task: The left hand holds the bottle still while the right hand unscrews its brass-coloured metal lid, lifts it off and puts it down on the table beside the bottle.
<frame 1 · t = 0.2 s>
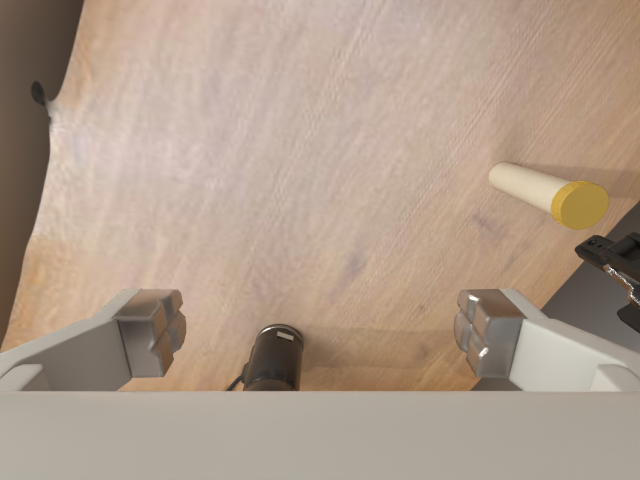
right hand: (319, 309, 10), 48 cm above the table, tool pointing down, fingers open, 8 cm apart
lid: (582, 206, 40), point 19 cm above the table, screwed on, not yet turned
bottle: (502, 175, 57), on the table
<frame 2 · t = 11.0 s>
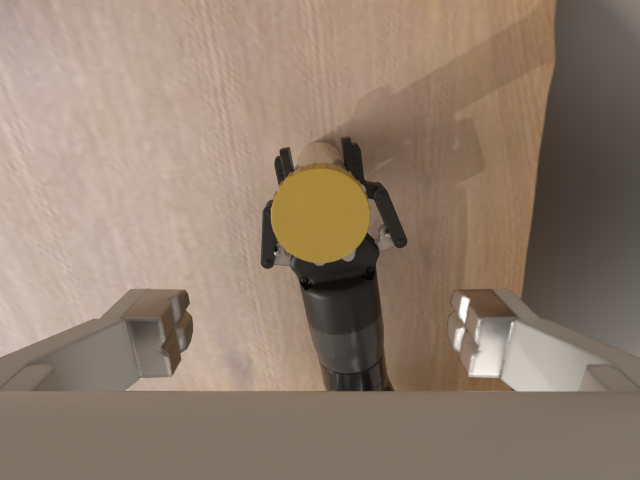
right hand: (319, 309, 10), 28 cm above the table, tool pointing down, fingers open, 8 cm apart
left hand: (314, 144, 29), fingers closed on bottle, 4 cm apart
lid: (320, 216, 19), point 19 cm above the table, screwed on, not yet turned
bottle: (320, 163, 36), on the table, touching left hand
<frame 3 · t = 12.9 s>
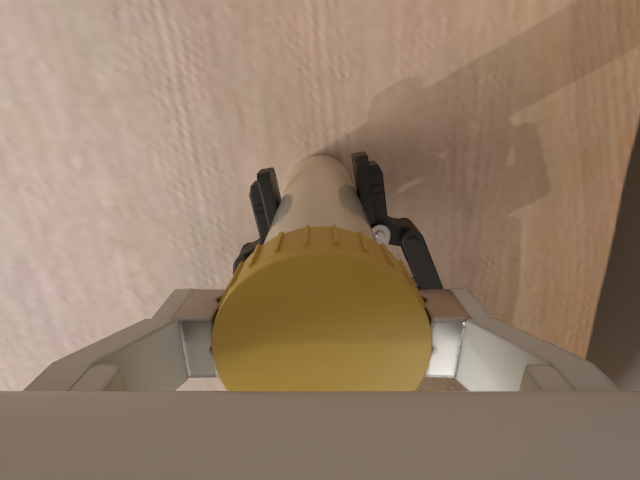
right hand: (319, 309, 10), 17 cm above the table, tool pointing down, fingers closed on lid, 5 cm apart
lid: (321, 344, 9), point 19 cm above the table, screwed on, not yet turned, touching right hand
bottle: (320, 185, 26), on the table, touching left hand
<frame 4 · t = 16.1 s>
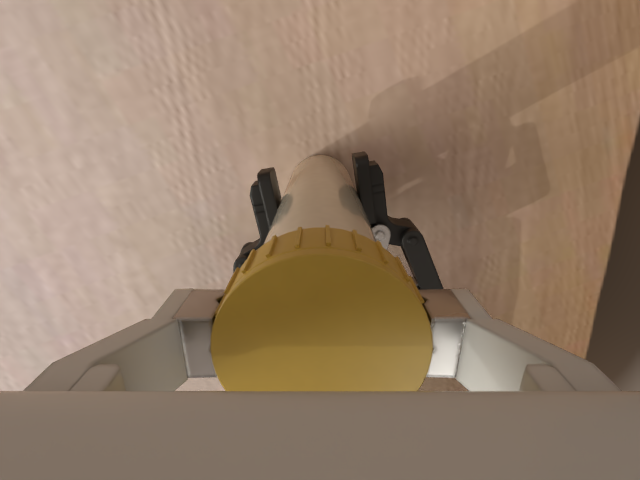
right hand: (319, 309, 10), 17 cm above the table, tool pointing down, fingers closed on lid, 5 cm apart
lid: (321, 346, 9), point 19 cm above the table, turned 79° so far, risen 0.1 cm, still on its thread, touching right hand
bottle: (320, 185, 26), on the table, touching left hand
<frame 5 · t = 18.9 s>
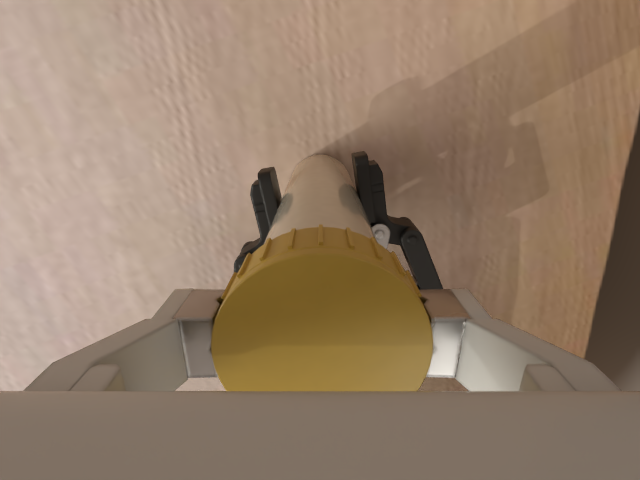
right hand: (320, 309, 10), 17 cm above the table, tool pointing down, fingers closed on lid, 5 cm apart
lid: (322, 345, 9), point 19 cm above the table, turned 158° so far, risen 0.2 cm, still on its thread, touching right hand
bottle: (320, 185, 26), on the table, touching left hand
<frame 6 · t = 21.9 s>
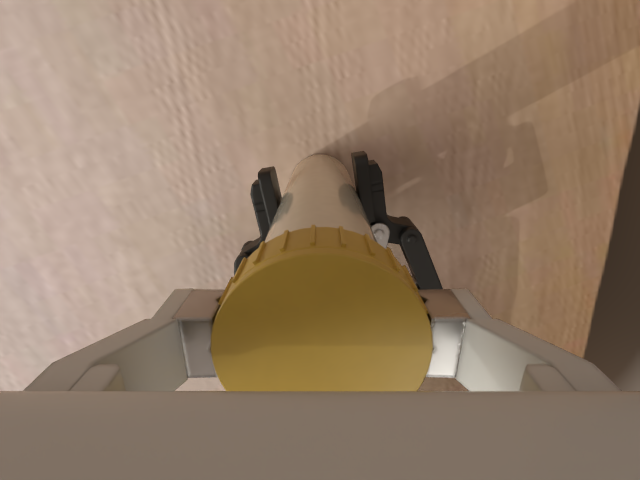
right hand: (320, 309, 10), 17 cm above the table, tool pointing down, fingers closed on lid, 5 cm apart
lid: (321, 345, 9), point 19 cm above the table, turned 237° so far, risen 0.3 cm, still on its thread, touching right hand
bottle: (320, 185, 26), on the table, touching left hand
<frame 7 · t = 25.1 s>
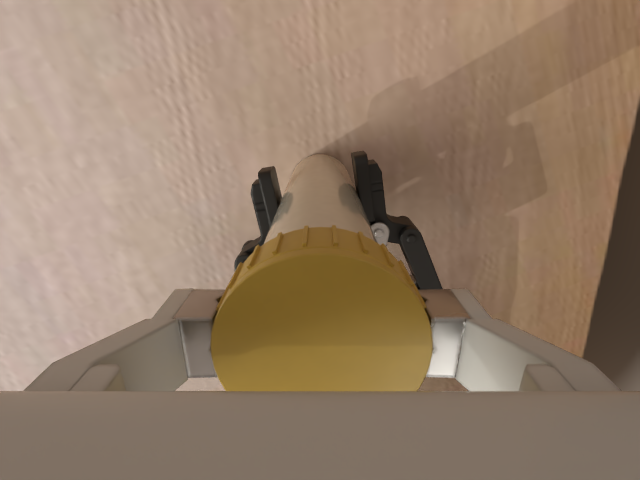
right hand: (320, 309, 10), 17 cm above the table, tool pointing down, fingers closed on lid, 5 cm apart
lid: (321, 346, 9), point 19 cm above the table, turned 315° so far, risen 0.4 cm, still on its thread, touching right hand
bottle: (320, 184, 26), on the table, touching left hand
when the right hand's fingers open (2 cm above the table, at t = 36.0 s): lid drops 2 cm, point 1 cm above the table.
when the left hand's fingers open (6 cm above the table, at t = 37.0 s): bottle stays where it is, on the table.
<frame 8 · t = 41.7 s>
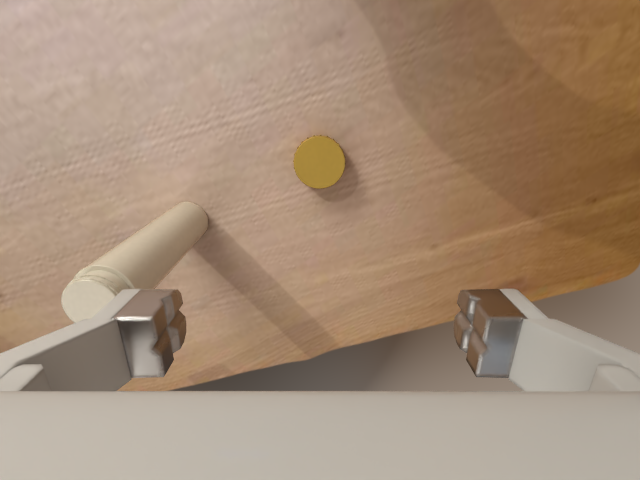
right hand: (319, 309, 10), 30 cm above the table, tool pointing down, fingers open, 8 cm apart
lid: (319, 162, 36), point 1 cm above the table, off its thread
bottle: (188, 220, 40), on the table
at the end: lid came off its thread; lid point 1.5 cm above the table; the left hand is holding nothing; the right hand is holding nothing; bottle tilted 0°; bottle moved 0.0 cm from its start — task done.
